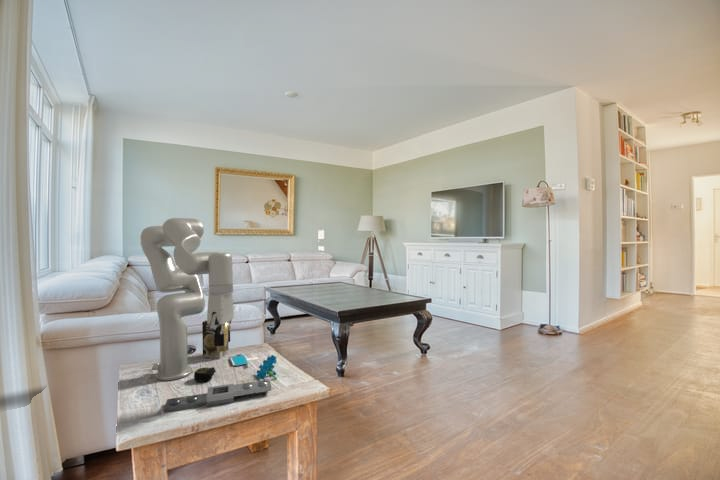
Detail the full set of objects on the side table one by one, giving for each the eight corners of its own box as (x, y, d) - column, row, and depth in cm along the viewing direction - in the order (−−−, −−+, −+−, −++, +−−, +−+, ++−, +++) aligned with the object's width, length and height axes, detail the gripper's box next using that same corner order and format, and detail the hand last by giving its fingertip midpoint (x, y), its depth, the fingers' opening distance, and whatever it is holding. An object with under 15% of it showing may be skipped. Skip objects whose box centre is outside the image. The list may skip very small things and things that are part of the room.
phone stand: (262, 366, 145) (262, 362, 145) (232, 372, 139) (232, 368, 139) (253, 353, 163) (253, 349, 163) (226, 357, 157) (226, 354, 157)
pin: (215, 351, 115) (214, 321, 115) (220, 348, 119) (219, 319, 119) (225, 351, 115) (224, 321, 115) (230, 348, 118) (229, 319, 118)
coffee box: (201, 357, 155) (201, 321, 155) (211, 353, 162) (210, 318, 162) (219, 359, 153) (219, 322, 153) (228, 354, 160) (228, 319, 160)
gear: (253, 369, 136) (271, 349, 138) (264, 377, 138) (282, 358, 140) (257, 383, 126) (277, 362, 128) (268, 392, 128) (288, 371, 130)
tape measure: (211, 382, 128) (211, 372, 128) (191, 384, 127) (191, 374, 127) (215, 375, 135) (215, 366, 135) (197, 376, 134) (197, 367, 134)
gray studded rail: (163, 414, 105) (163, 402, 105) (168, 402, 113) (167, 391, 113) (271, 396, 116) (271, 385, 116) (269, 386, 124) (269, 376, 124)
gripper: (222, 286, 125) (223, 337, 125) (197, 293, 109) (198, 351, 109) (242, 286, 125) (243, 337, 125) (220, 292, 108) (221, 351, 108)
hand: (222, 343), depth 117 cm, fingers closed on pin, 3 cm apart
